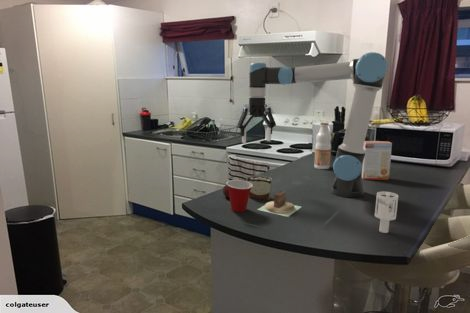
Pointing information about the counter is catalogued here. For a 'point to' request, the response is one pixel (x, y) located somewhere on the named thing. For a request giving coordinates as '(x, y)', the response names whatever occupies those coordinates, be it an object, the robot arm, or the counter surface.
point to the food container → (260, 186)
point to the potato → (226, 191)
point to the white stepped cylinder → (386, 209)
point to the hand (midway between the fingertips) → (256, 142)
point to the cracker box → (376, 160)
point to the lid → (279, 204)
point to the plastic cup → (239, 194)
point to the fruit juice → (323, 147)
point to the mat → (280, 213)
